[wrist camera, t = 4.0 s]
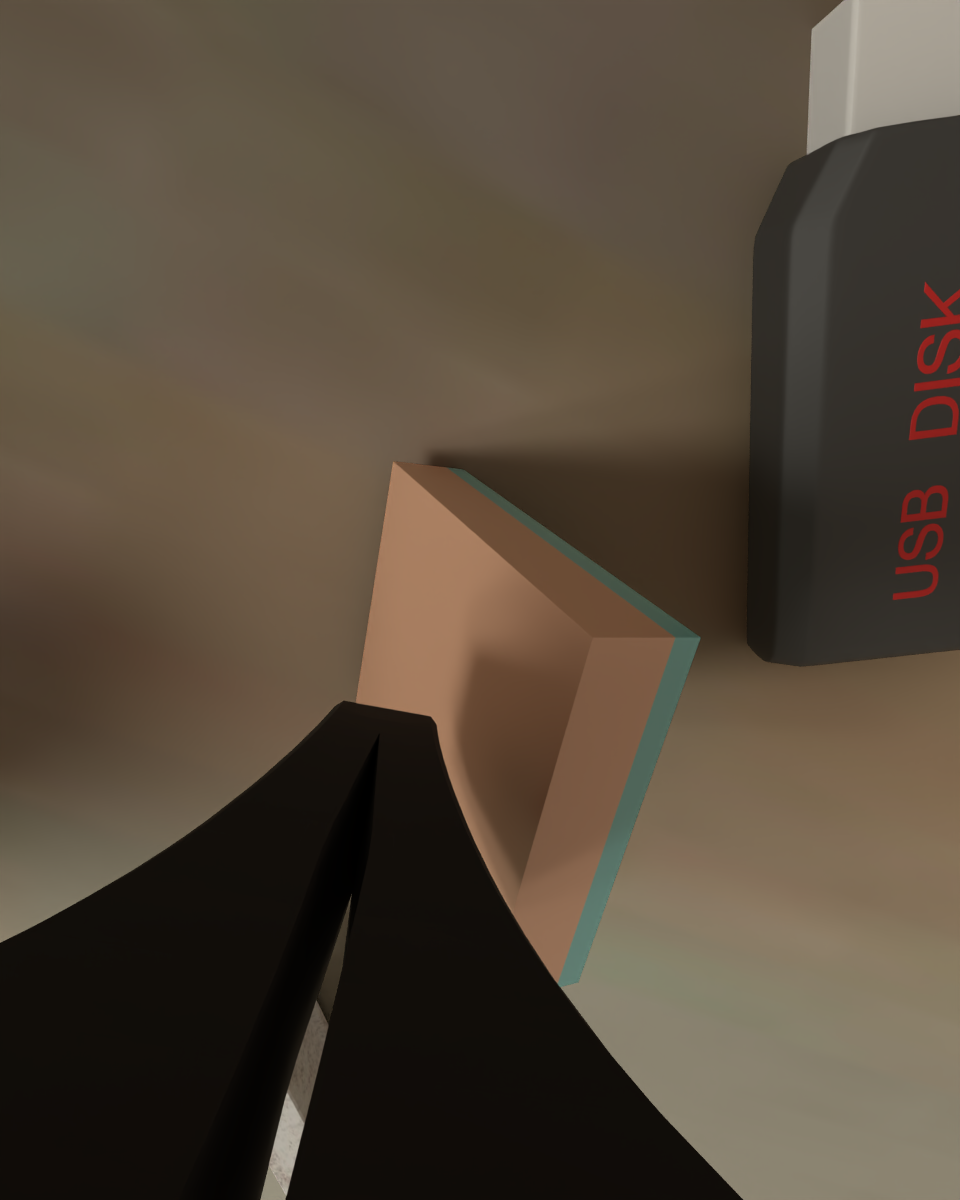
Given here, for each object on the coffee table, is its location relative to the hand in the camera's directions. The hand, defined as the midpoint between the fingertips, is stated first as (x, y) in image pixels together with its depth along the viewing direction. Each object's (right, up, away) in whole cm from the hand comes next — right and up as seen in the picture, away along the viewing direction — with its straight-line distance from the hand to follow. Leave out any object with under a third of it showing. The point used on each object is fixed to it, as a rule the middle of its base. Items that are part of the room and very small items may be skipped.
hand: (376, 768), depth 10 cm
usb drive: (+10, +7, +5) cm, 13 cm away
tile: (+1, +1, +3) cm, 3 cm away
